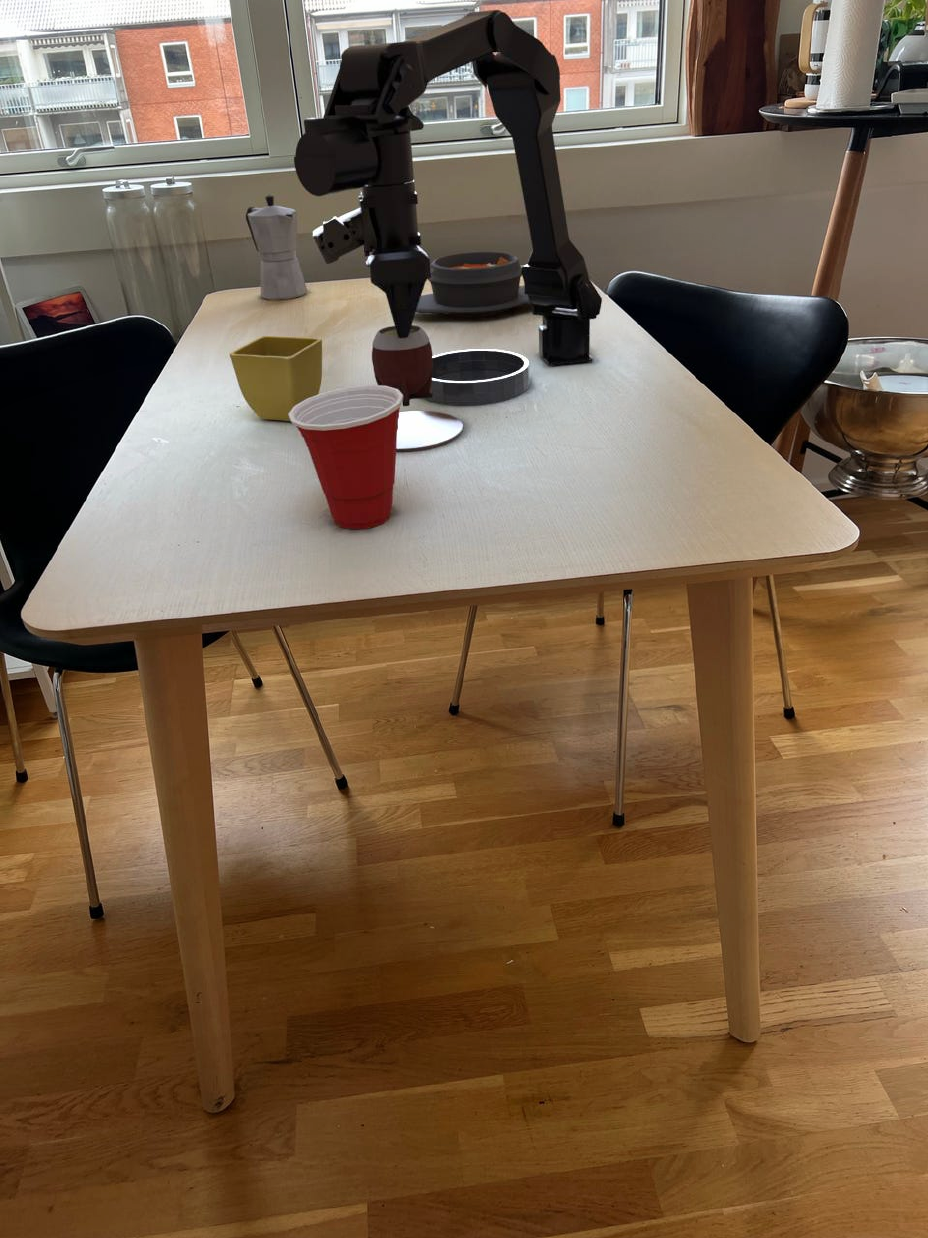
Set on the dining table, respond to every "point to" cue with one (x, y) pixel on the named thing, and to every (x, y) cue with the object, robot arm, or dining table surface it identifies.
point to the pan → (478, 377)
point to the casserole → (474, 285)
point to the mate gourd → (404, 362)
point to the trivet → (426, 430)
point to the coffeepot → (277, 250)
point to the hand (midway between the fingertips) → (401, 331)
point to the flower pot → (278, 373)
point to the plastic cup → (353, 450)
